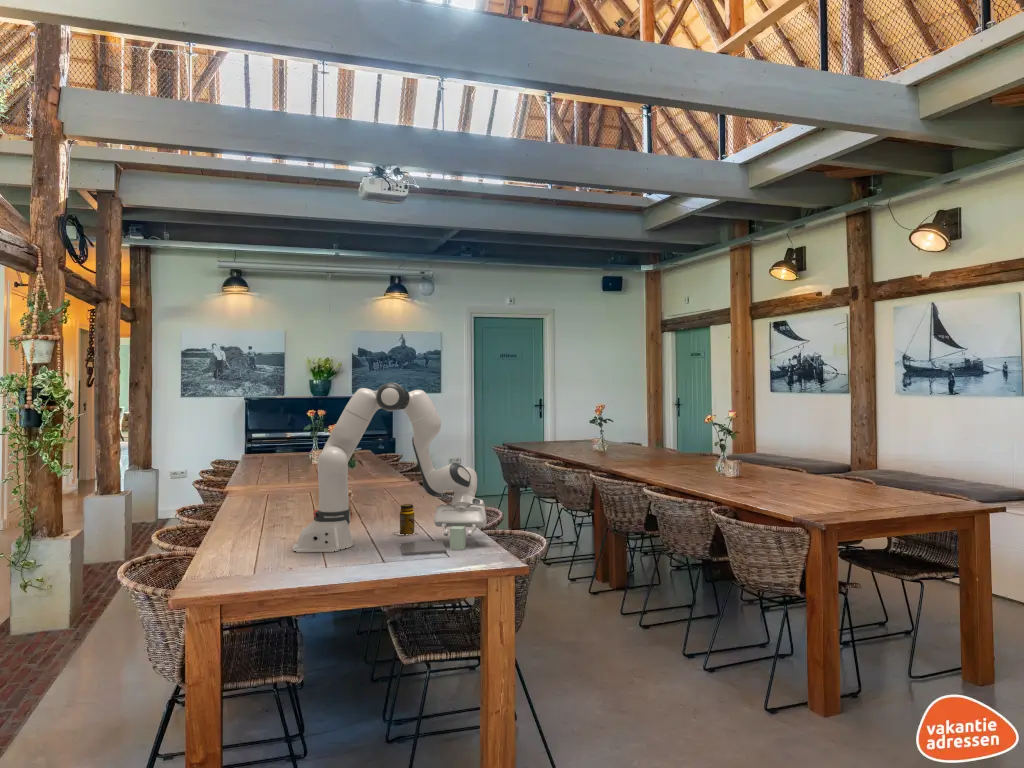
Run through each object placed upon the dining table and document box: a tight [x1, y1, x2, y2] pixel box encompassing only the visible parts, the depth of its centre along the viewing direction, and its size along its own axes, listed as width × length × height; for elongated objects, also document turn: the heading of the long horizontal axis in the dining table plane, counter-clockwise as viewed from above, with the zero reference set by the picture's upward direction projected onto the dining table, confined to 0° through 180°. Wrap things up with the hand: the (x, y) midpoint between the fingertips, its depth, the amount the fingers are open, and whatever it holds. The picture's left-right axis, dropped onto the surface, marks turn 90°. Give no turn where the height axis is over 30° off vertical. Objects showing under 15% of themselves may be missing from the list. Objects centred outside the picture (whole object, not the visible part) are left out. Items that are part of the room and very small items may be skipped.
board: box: [400, 540, 448, 556], centre depth 260 cm, size 16×16×1 cm
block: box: [449, 526, 467, 550], centre depth 261 cm, size 5×5×8 cm
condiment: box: [393, 503, 416, 536], centre depth 288 cm, size 7×8×12 cm
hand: (457, 535), depth 261 cm, fingers open, 8 cm apart
